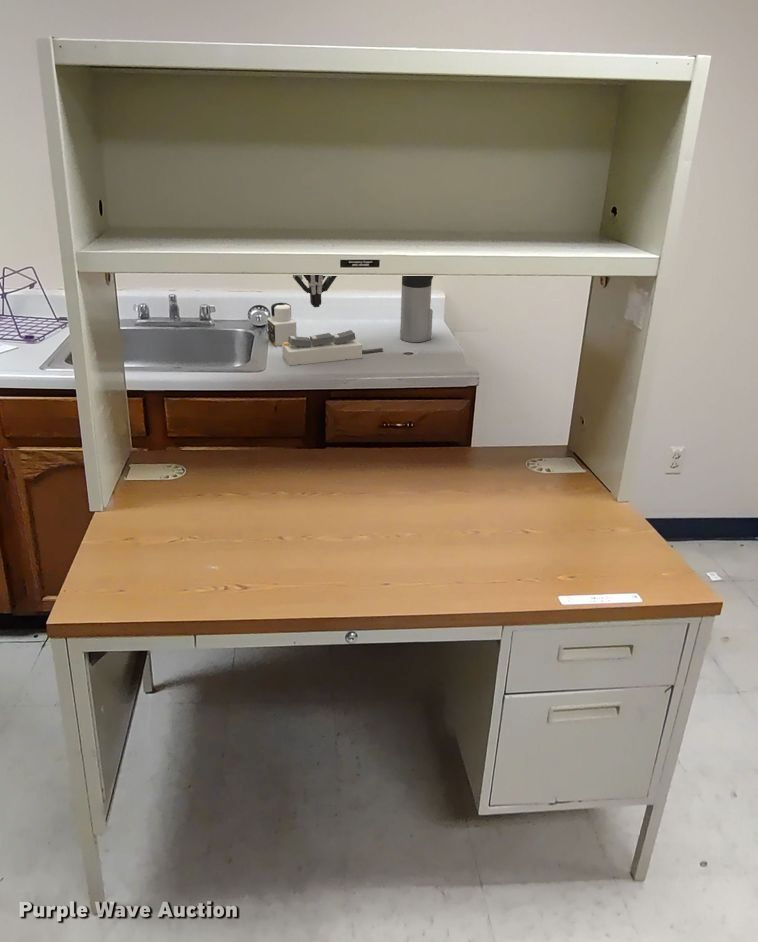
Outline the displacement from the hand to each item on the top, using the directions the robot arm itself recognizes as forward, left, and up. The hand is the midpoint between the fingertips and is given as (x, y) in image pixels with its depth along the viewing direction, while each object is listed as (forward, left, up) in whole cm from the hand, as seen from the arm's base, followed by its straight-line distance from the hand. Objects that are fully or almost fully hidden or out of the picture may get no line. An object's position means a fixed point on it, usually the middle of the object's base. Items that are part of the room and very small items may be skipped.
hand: (315, 306), depth 216 cm
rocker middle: (-2, 0, -11) cm, 11 cm away
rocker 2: (-9, 0, -11) cm, 14 cm away
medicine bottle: (+6, -18, -16) cm, 24 cm away
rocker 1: (+5, 0, -11) cm, 13 cm away
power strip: (-6, 0, -15) cm, 16 cm away
